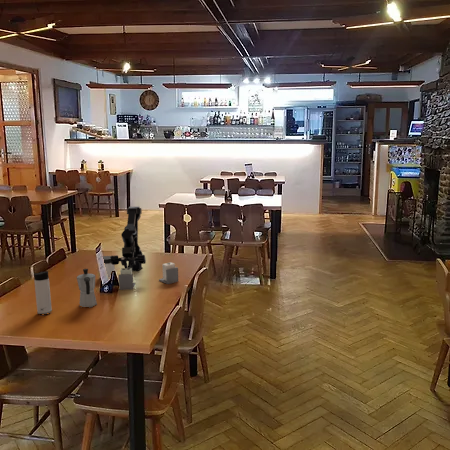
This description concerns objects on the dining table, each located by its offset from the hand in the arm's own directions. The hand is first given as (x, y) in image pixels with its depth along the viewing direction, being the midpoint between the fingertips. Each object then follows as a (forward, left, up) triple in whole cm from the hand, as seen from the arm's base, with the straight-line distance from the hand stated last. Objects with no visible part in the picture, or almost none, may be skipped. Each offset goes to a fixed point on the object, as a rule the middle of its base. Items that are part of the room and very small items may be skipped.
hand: (127, 273), depth 257 cm
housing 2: (+17, +15, -7) cm, 24 cm away
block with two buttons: (+1, -2, -6) cm, 6 cm away
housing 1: (+1, -1, -7) cm, 7 cm away
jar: (-20, +9, -7) cm, 23 cm away
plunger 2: (+18, +15, -6) cm, 24 cm away
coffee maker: (-2, -32, -7) cm, 33 cm away
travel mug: (-15, -47, -7) cm, 50 cm away
